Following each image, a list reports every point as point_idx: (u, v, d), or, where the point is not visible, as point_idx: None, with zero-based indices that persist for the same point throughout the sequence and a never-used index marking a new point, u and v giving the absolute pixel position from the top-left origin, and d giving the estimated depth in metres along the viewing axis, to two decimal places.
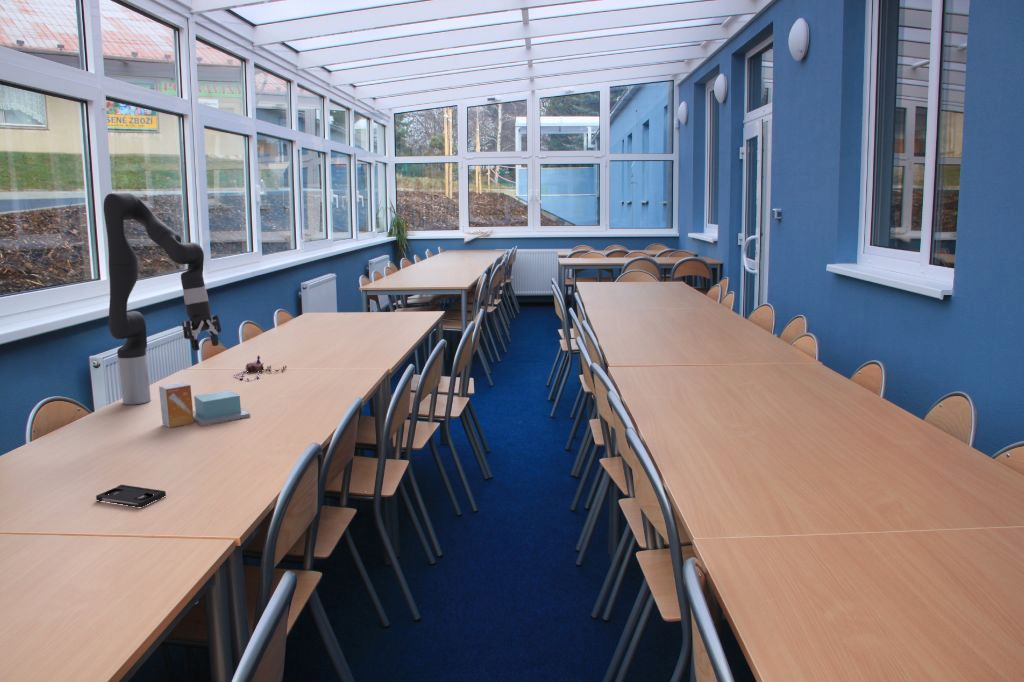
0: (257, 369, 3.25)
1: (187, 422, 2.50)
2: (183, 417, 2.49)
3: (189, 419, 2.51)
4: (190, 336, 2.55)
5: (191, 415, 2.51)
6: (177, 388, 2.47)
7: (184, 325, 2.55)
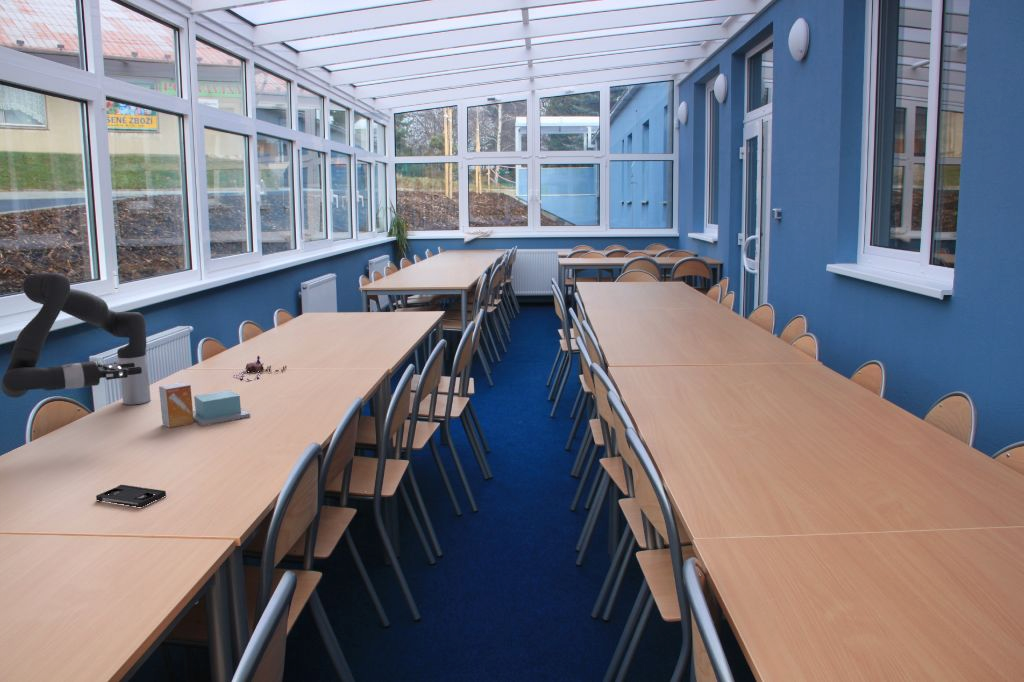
0: (257, 369, 3.25)
1: (187, 422, 2.50)
2: (183, 417, 2.49)
3: (189, 419, 2.51)
4: None
5: (191, 415, 2.51)
6: (177, 388, 2.47)
7: None
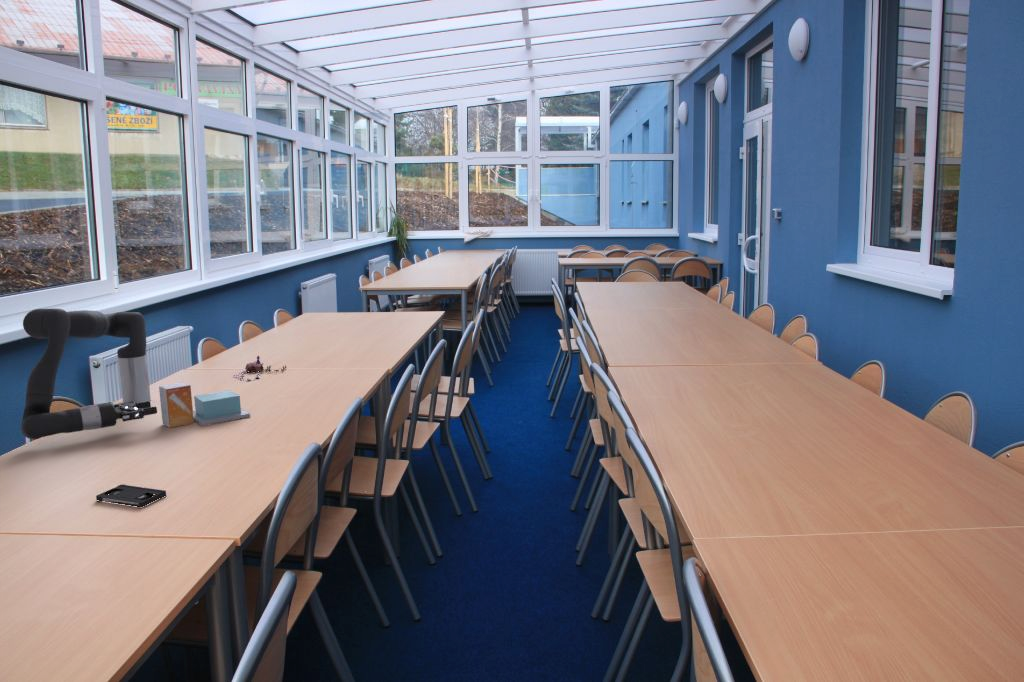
0: (257, 369, 3.26)
1: (187, 422, 2.50)
2: (183, 417, 2.49)
3: (189, 419, 2.51)
4: None
5: (191, 415, 2.51)
6: (177, 388, 2.47)
7: None
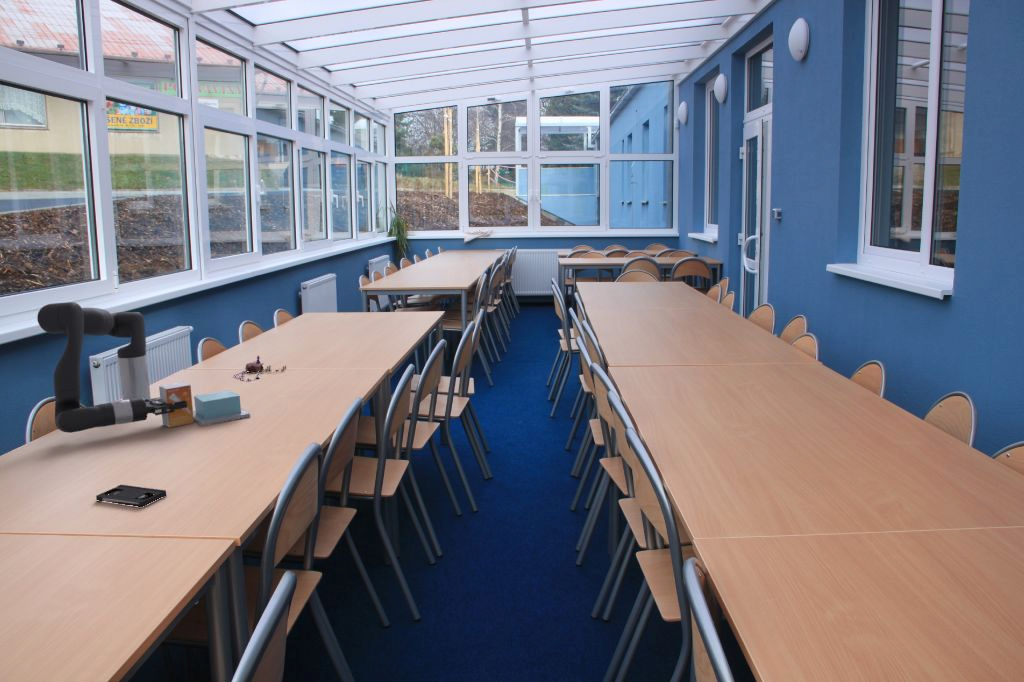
0: (257, 369, 3.26)
1: (187, 422, 2.50)
2: (183, 417, 2.49)
3: (189, 419, 2.51)
4: None
5: (191, 415, 2.51)
6: (177, 388, 2.47)
7: None
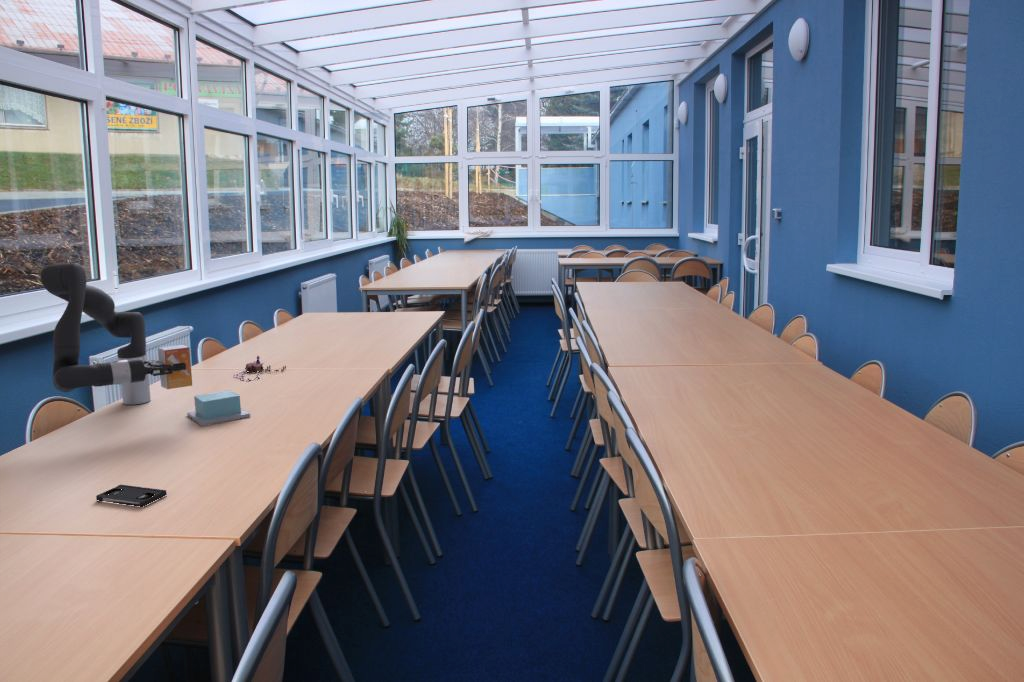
0: (257, 369, 3.26)
1: (186, 384, 2.48)
2: (182, 380, 2.47)
3: (187, 382, 2.49)
4: None
5: (190, 377, 2.49)
6: (176, 349, 2.45)
7: None
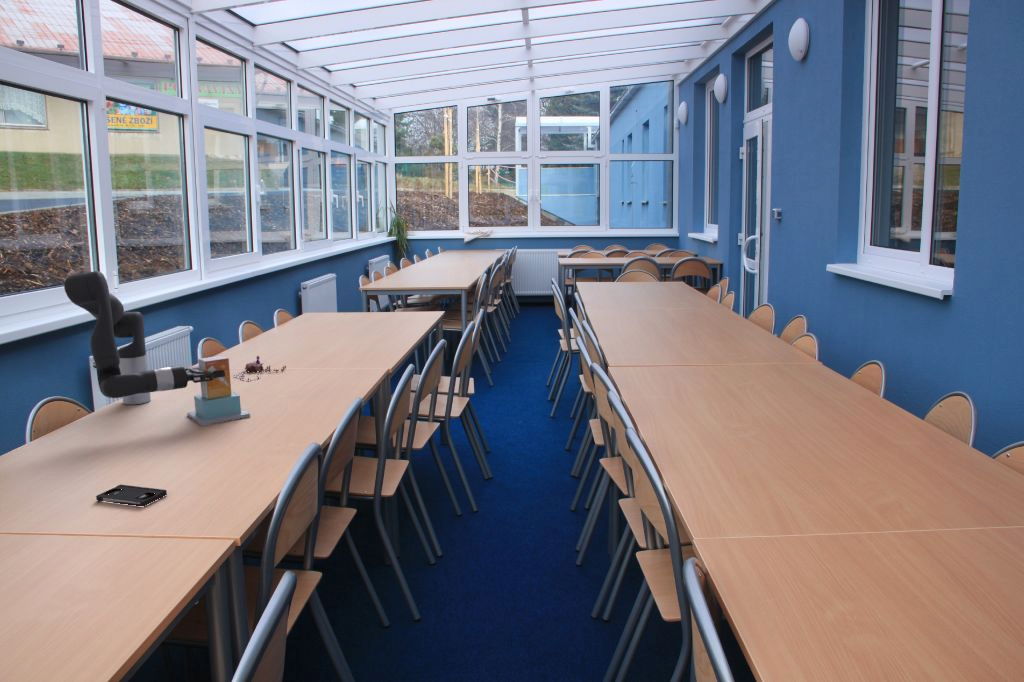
0: (257, 369, 3.26)
1: (225, 394, 2.56)
2: (221, 390, 2.55)
3: (227, 391, 2.57)
4: None
5: (229, 387, 2.57)
6: (216, 361, 2.53)
7: None
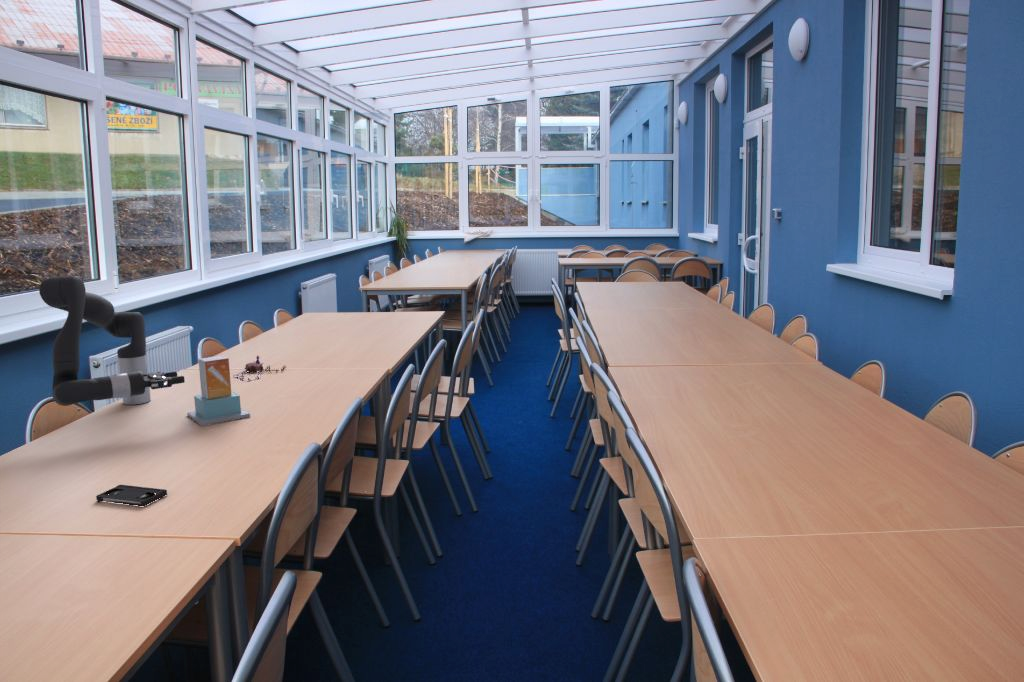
0: (257, 369, 3.26)
1: (225, 394, 2.56)
2: (221, 390, 2.55)
3: (227, 391, 2.57)
4: None
5: (229, 388, 2.57)
6: (216, 361, 2.53)
7: None
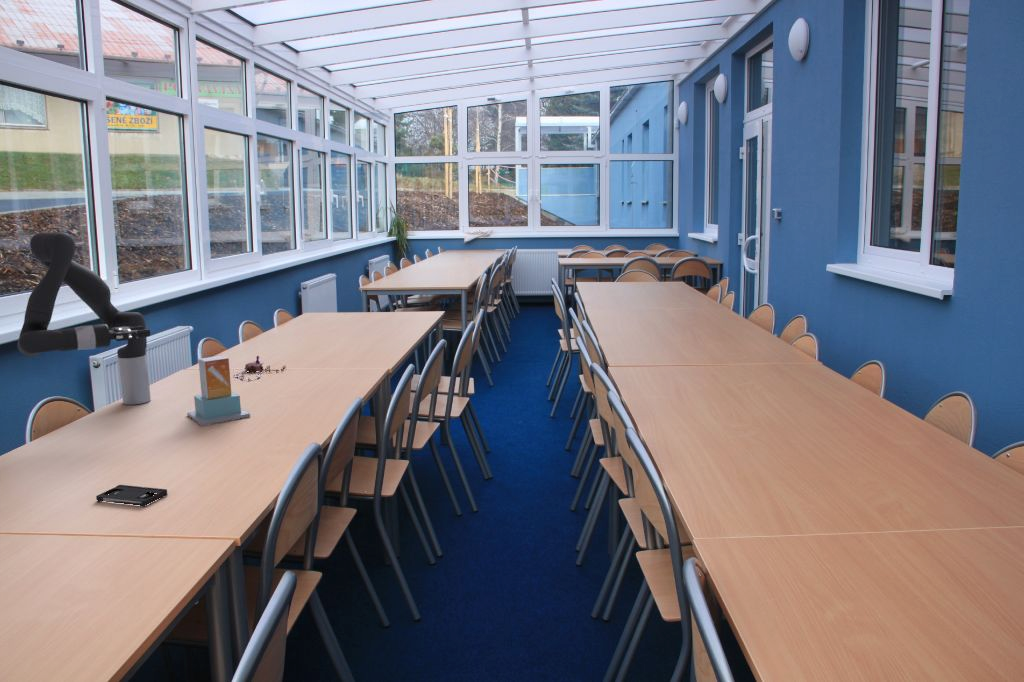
0: (257, 369, 3.26)
1: (225, 394, 2.56)
2: (221, 390, 2.55)
3: (227, 391, 2.57)
4: None
5: (229, 388, 2.57)
6: (216, 361, 2.53)
7: None
